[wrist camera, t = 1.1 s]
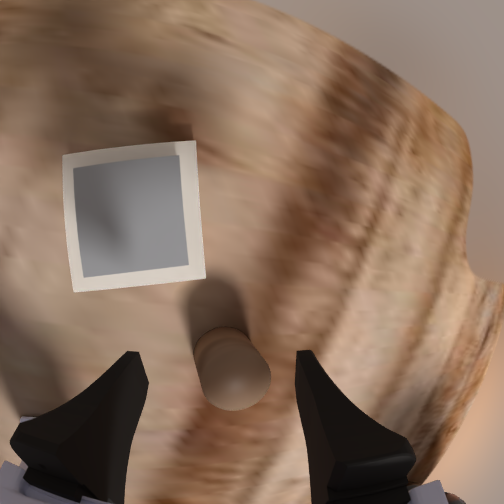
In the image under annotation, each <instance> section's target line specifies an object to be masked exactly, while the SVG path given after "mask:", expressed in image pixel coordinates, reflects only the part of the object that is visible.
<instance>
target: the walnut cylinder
mask: <svg viewBox="0 0 504 504" xmlns="http://www.w3.org/2000/svg"><path fill="white" fill-rule="evenodd" d="M194 360H195V364H196V368H197V372H198V376H199V379H200V383H201V386H202V390H203V393H204V395H205V397H206V398H207V400H208V401H209V402H210V403H211V404H213V405H214V406H216V407H218V408H220V409H224V410H231V411H233V410H241V409H245V408H248V407H250V406H252V405H254V404H255V403H257V402H258V401H259V400H260V399H261V398H262V397H263V396H264V395H265V394H266V392H267V390H268V388H269V386H270V382H271V372H270V368H269V366H268V364H267V363H266V361H265V360H264V359H263V357H262V356H261V355H260V353H259V352H258V351H257V349H256V348H255V347H254V345H253V344H252V343H251V342H250V340H249V339H248V338H247V336H246V335H245V334H244V333H242V332H241V331H239V330H237V329H235V328H231V327H219V328H215V329H212V330H210V331H208V332H207V333H205V334H204V335H203V336H202V337H201V338H200V339H199V341H198V342H197V344H196V346H195V350H194Z"/></svg>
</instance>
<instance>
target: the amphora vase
mask: <svg viewBox="0 0 504 504" xmlns="http://www.w3.org/2000/svg"><path fill="white" fill-rule="evenodd" d="M406 486H407V489H408V491H409V490H411V489H413V488H415V487H418V486H421V485H420V484H419V483H414V482H410V483H408V485H406ZM444 493H445V495H446V498H447V501H448V504H466V503H465V502H464V501H463V500H461V499H460V498H459V497H457V496H456V495H454V494H451V493H447V492H444Z"/></svg>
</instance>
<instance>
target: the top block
mask: <svg viewBox="0 0 504 504" xmlns="http://www.w3.org/2000/svg"><path fill="white" fill-rule="evenodd" d="M73 179H74V197H75V211H76V222H77V232H78V241H79V249H80V256H81V263H82V270H83V276H84V278H86V277H95V276H103V275H111V274H120V273H128V272H136V271H145V270H153V269H161V268H169V267H177V266H185V265H189V261H188V252H187V242H186V232H185V222H184V211H183V199H182V187H181V173H180V158H179V155H175V156H164V157H154V158H144V159H135V160H127V161H119V162H111V163H104V164H97V165H91V166H84V167H78V168H73Z"/></svg>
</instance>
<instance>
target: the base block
mask: <svg viewBox="0 0 504 504" xmlns="http://www.w3.org/2000/svg"><path fill="white" fill-rule="evenodd" d="M175 155H179V158H180V173H181V187H182V199H183V211H184V222H185V232H186V242H187V252H188V261H189V265H185V266H177V267H169V268H161V269H153V270H145V271H136V272H128V273H120V274H111V275H103V276H95V277H86V278H84V276H83V270H82V263H81V256H80V249H79V241H78V232H77V222H76V211H75V197H74V179H73V168H78V167H84V166H91V165H97V164H104V163H111V162H119V161H127V160H135V159H144V158H154V157H164V156H175ZM62 168H63V200H64V216H65V228H66V239H67V248H68V256H69V264H70V271H71V278H72V284H73V290H74V292H84V291H94V290H104V289H114V288H124V287H134V286H143V285H153V284H162V283H171V282H180V281H189V280H198V279H206V272H205V261H204V250H203V238H202V226H201V213H200V200H199V185H198V169H197V151H196V141H179V142H165V143H152V144H142V145H132V146H123V147H114V148H106V149H99V150H91V151H85V152H78V153H72V154H66V155H62Z"/></svg>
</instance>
